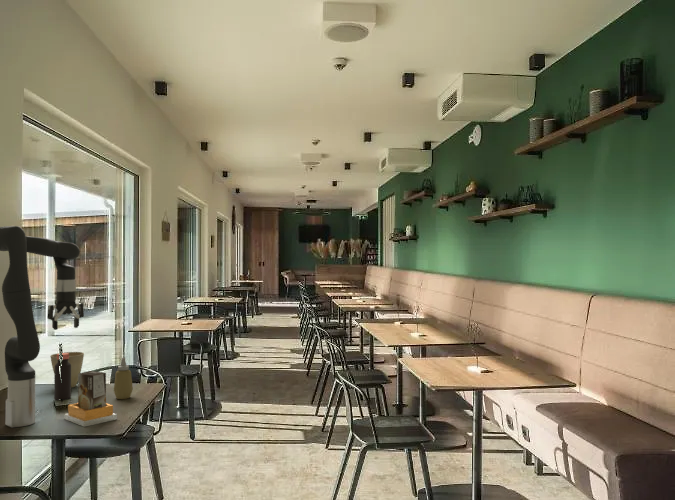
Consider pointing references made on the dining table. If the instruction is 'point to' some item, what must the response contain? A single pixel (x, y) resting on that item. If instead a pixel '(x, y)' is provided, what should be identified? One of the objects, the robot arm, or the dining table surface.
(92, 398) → the coffee box
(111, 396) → the dining table surface
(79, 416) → the orange open box
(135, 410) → the dining table surface
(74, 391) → the dining table surface
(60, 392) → the vinegar
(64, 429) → the dining table surface
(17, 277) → the robot arm
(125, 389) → the squeeze bottle
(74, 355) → the plant pot
